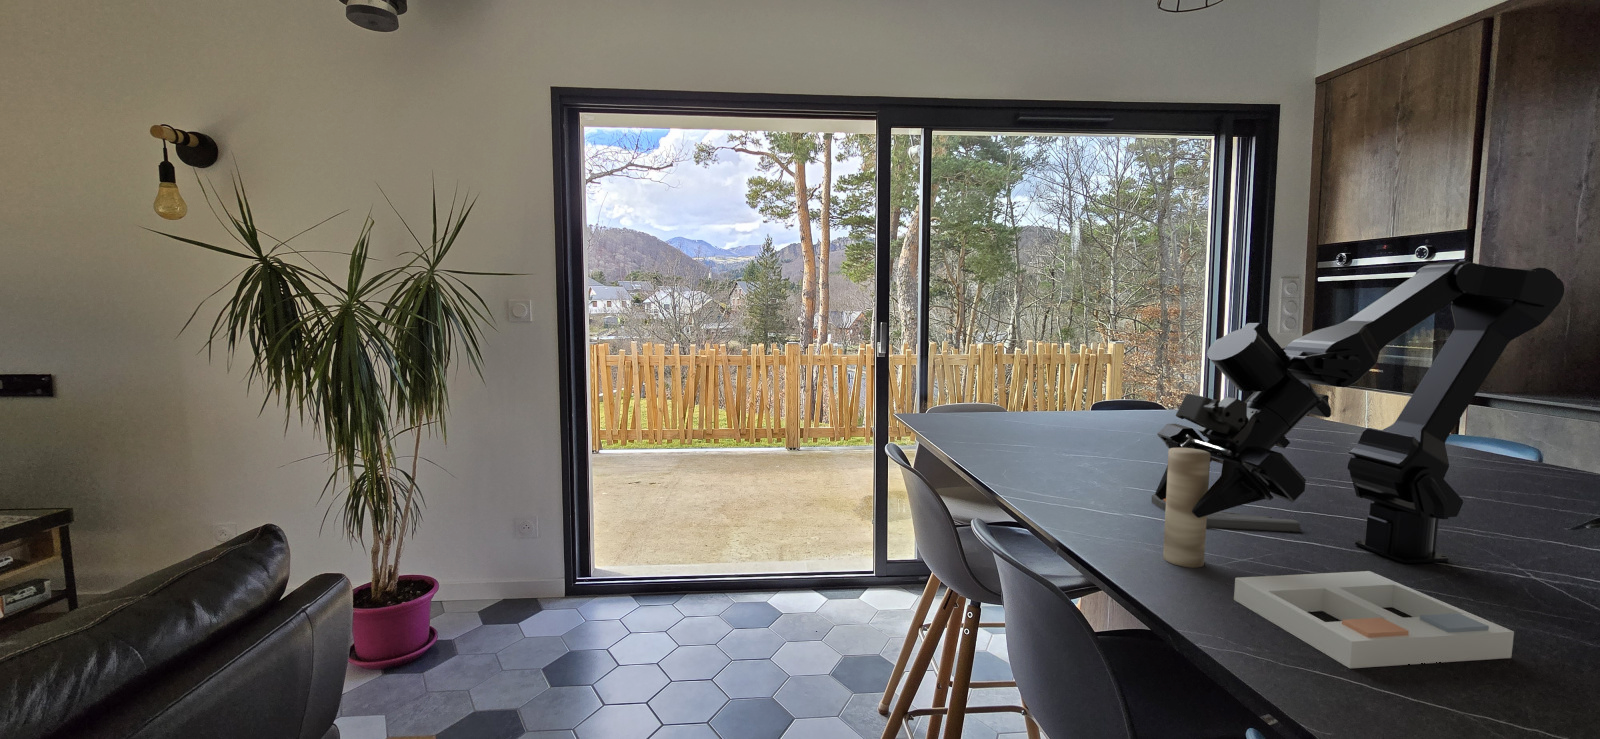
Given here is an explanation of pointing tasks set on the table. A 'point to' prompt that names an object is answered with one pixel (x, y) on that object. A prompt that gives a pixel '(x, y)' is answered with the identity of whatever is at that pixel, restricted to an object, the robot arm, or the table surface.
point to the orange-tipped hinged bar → (1242, 520)
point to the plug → (1185, 506)
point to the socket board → (1372, 619)
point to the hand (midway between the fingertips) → (1175, 505)
